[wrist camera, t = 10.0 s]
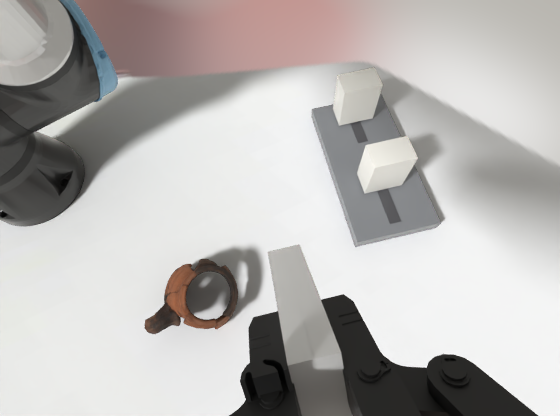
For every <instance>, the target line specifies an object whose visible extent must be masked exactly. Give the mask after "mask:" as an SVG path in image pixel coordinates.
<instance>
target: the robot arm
mask: <svg viewBox="0 0 560 416" xmlns="http://www.w3.org/2000/svg"><path fill="white" fill-rule="evenodd" d="M117 84H118V78H117V75H116V72H115V69H114V67H113V65H112V63H111V60H110V59H109V57H108V55H107V53H106V52H105V51H104V48H103V46H102V44H101V41H100V40H99V38H98V36H97V34H96V33H95V31H94V29H93V28H92V26H91V24H90V23H89V21H88V19H87V18H86V16H85V15H84V13H83V12H82V10H81V9H80V7H79V6H78V5H77V4H76V2H75V1H74V0H0V220H2V221H4V222H6V223H9V224H11V225H15V226H31V225H36V224H40V223H43V222H45V221H48V220H50V219H52V218H53V217H55V216H57V215H58V214H60V213H61V212H62V211H63V210H65V209H66V208H67V207H68V206H69V205H70V204H71V203H72V201H73V200H74V199H75V198H76V196H77V194H78V193H79V191H80V189H81V187H82V184H83V180H84V165H83V162H82V160H81V158H80V157H79V155H78V154H77V153H76V152H75V151H74V150H72V149H71V148H70V147H69V146H68V145H66V144H65V143H63V142H61V141H59V140H56V139H54V138H51V137H49V136H46V135H44V134H41V133H39V132H36V131H37V130H39V129H41V128H43V127H45V126H47V125H49V124H51V123H53V122H55V121H57V120H59V119H61V118H63V117H65V116H67V115H69V114H71V113H72V112H74V111H76V110H78V109H80V108H82V107H84V106H86V105H88V104H90V103H92V102H97V101H100V100H101V99H102V97H103V96H105V95H107V94H108V93H110V92H112V91H113V90H115V88H116V87H117ZM268 256H269V262H270V268H271V273H272V279H273V285H274V291H275V296H276V302H277V308H278V311H277V312H273V313H269V314H265V315H261V316H257V317H254V318H253V320H252V322H251V324H250V326H249V349H250V350H249V352H250V363H249V364H248V365H247V366H246V368H245V369H244V371H243V372H242V375H241V379H240V383H241V386H242V389H243V392H244V395H245V398H246V401H245V402H244V404H243V405H242V406H241V407H240V408H239V409H238V410H237V411H235V412H234V413H233V414H231V415H229V416H538V415H537V414H535V413H534V412H533V411H532V410H530V409H529V408H528V407H527V406H525V405H524V404H523V403H522V402H520V401H519V400H518V399H517V398H515V397H514V396H513V395H512V394H511V393H509V392H508V391H507V390H506V389H504V388H503V387H502V386H501V385H499V384H498V383H497V382H496V381H494V380H493V379H492V378H491V377H489V376H488V375H487V374H486V373H485V372H483V371H482V370H481V369H480V368H478V367H477V366H476V365H475V364H473V363H472V362H470V361H468V360H467V359H465V358H463V357H459V356H456V355H447V354H443V355H440V356H436V357H434V358H433V359H432V360H431V361H429V363H428V366H427V368H418V367H405V366H400V365H397V364H395V363H393V362H391V361H389V359H387V358H386V357H384V356H383V355H382V353H381V352H380V350H379V349H378V347H377V345H376V343H375V341H374V339H373V337H372V335H371V334H370V332H369V330H368V328H367V326H366V324H365V322H364V321H363V319H362V317H361V315H360V313H359V312H358V309H357V308H356V306H355V304H354V302H353V301H352V300H351V299H349V298H348V297H346V296H345V295H344V294H343V295H339V296H335V297H331V298H327V299H323V300H321V299H320V296H319V294H318V291H317V289H316V286H315V284H314V281H313V278H312V276H311V273H310V271H309V268H308V265H307V263H306V260H305V258H304V255H303V253H302V250H301V247H300V245H295V246H291V247H287V248H282V249H278V250H274V251H270V252H268Z"/></svg>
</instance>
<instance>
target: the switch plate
mask: <svg viewBox="0 0 560 416" xmlns="http://www.w3.org/2000/svg"><path fill="white" fill-rule="evenodd" d="M312 120H313V123H314V126H315V129H316V132H317V135H318V138H319V140H320V143H321V146H322V149H323V152H324V155H325V158H326V161H327V164H328V167H329V170H330V173H331V176H332V179H333V182H334V185H335V188H336V191H337V194H338V197H339V200H340V203H341V206H342V209H343V212H344V215H345V218H346V221H347V224H348V227H349V230H350V233H351V236H352V239H353V242H354V245H355V247H357V246H361V245H366V244H370V243H374V242H378V241H383V240H387V239H391V238H395V237H399V236H404V235H408V234H412V233H416V232H421V231H425V230H429V229H433V228H436V227H437V226H438V225H439V224H441V221H440V219H439V217H438V215H437V213H436V211H435V208H434V206H433V204H432V202H431V200H430V198H429V196H428V193H427V191H426V189H425V187H424V185H423V183H422V181H421V178H420V176H419V174H418V172H417V170H416V168H415V166H413V167H412V169H411V171H410V172H409V174H408V176H407V177H406V179H405V181H404V182H403V184H402V185H400V186H396V187H391V188H387V189H383V190H378V191H374V192H370V193H364V191H363V188H362V185H361V183H360V180H359V177H358V175H357V172H358V168H359V165H360V162H361V159H362V156H363V152H364V149H365V146H366V145H368V144H373V143H377V142H382V141H386V140H391V139H395V138H400V137H401V136H400V133H399V131H398V129H397V127H396V125H395V123H394V121H393V118H392V116H391V114H390V112H389V110H388V108H387V106H386V104H385V101H384V99H383V97H382V95H381V94H380V96H379V100H378V103H377V106H376V109H375V113H374V116H373V118H372V119H367V120H363V121H358V122H354V123H349V124H345V125H340V126H339V124H338V121H337V119H336V116H335V113H334V111H333V105H329V106H324V107H320V108H315V109H312Z"/></svg>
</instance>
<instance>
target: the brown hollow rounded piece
mask: <svg viewBox="0 0 560 416" xmlns="http://www.w3.org/2000/svg"><path fill="white" fill-rule="evenodd" d="M191 266H192V265H191V264H186V265H183V266H181V267H180V268H178V269H176V270H175V271H174V273H173V274H172V275H171V277H170V279H169V281H168V284H167V286H166V290H165V296H164V302H165V304H164V305H163V307H162V308H161V309H160V310H159V311H158V312H157V313H156V314H155V315H154V316H152V317H150V318H149V319H146V320H145V329H146V331H147V332H148V333H152V334H156V333H159V332H160V331H162V330H164V329H166V328H167V327H169V326H171V325H176V326H179V325H180V322H181V319H180V317H183V318H184V319H185V320H184V324H186V325H189V326H192V327H195V328H203V329H209V328H214V327H215V329H218V328H220V327H221V326H223V325H224V324H225V323H226V322H227V321H228V320H229V318H231V316H232V315H233V312H234V310H235V307H236V304H237V299H238V289H237V284H236V281H235V279H234V277H233V275H232V274H231V272H230V270H229V269H228V268H227V267H226V265H225V266H222V267H219V266H217V265H216V264H215V263H214V262H212V261H209V260H208V259H201V260H199V263H198V265H197V267H196V268H195V269H194V271H193V270H192V268H191ZM208 271H212V272H217V273H220V274H221V275H222V276H224V277H225V279H226V280H227V282H228V283H229V286H230V290H231V294H230V301H229V304H228V306H227V308H226V310H225V311H224V312H223V315H222V316H220V317H219V318H217V319H210V320H203V319H200V318H197V317H196V316H194V315H193V314H192V313H191V312H190V310H189V309H188V306H187V303H186V292H187V289H188V286H189V284H190V283H191V281H192V280H193V279H194V278H195V277H196V276H197V275H199V274H201V273H203V272H208ZM179 316H180V317H179Z"/></svg>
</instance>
